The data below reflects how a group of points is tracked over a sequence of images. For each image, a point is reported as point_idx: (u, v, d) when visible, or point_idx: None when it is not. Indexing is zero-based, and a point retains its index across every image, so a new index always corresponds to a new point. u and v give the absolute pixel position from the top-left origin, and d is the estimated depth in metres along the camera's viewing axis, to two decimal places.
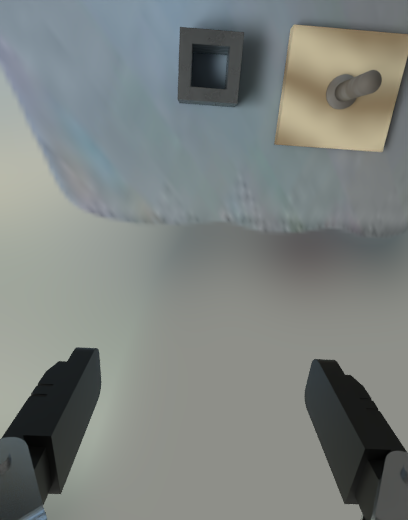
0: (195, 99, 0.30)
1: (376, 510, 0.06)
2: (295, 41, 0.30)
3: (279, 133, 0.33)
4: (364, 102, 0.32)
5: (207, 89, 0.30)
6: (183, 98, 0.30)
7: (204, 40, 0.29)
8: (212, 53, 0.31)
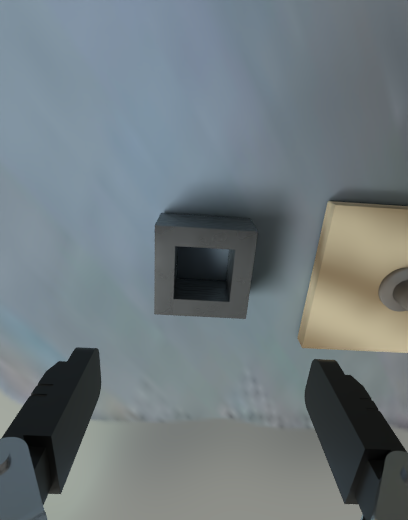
0: (181, 314, 0.20)
1: (376, 510, 0.06)
2: (336, 225, 0.19)
3: (306, 335, 0.23)
4: None
5: (199, 302, 0.19)
6: (163, 313, 0.20)
7: (194, 242, 0.18)
8: None
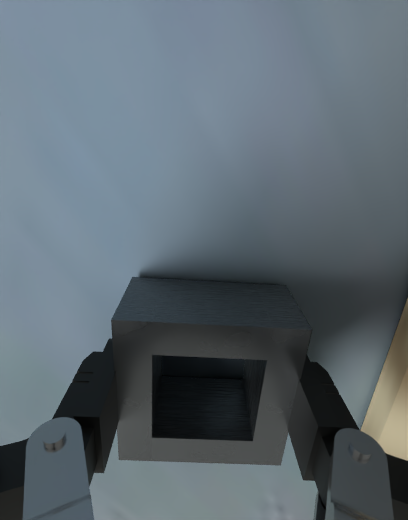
0: (167, 459, 0.11)
1: (331, 490, 0.07)
2: None
3: None
4: None
5: (199, 442, 0.11)
6: (134, 457, 0.11)
7: (189, 348, 0.09)
8: None
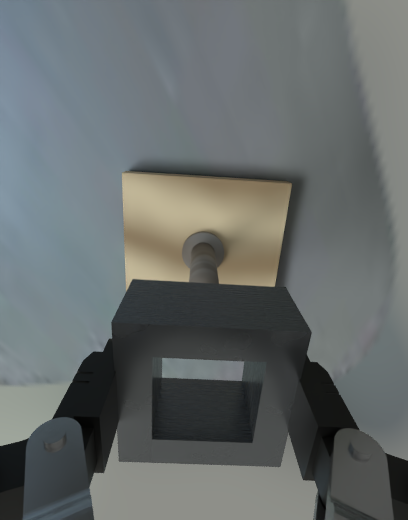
0: (167, 461, 0.11)
1: (331, 490, 0.07)
2: (128, 192, 0.22)
3: None
4: (236, 262, 0.24)
5: (199, 443, 0.11)
6: (134, 459, 0.11)
7: (189, 350, 0.09)
8: None
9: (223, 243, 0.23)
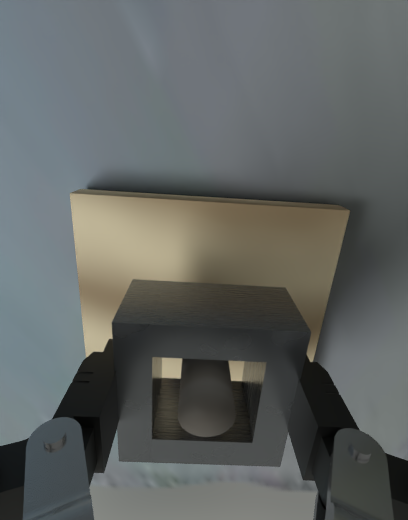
0: (167, 461, 0.11)
1: (331, 490, 0.07)
2: (82, 224, 0.13)
3: None
4: None
5: (199, 443, 0.11)
6: (134, 459, 0.11)
7: (189, 350, 0.09)
8: None
9: None
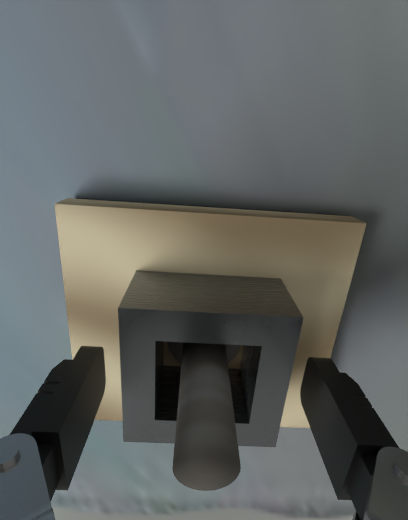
0: (169, 441, 0.12)
1: (369, 506, 0.06)
2: (68, 238, 0.12)
3: None
4: None
5: None
6: (138, 439, 0.12)
7: (189, 334, 0.10)
8: None
9: None
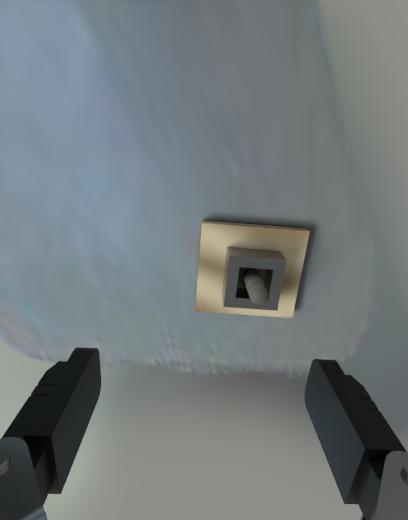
0: (239, 307, 0.33)
1: (376, 510, 0.06)
2: (204, 234, 0.34)
3: (196, 303, 0.37)
4: None
5: (250, 300, 0.33)
6: (228, 306, 0.33)
7: (250, 265, 0.32)
8: None
9: None
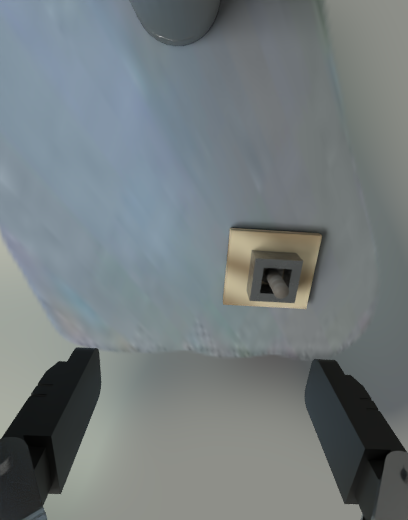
0: (263, 300, 0.40)
1: (376, 510, 0.06)
2: (233, 240, 0.40)
3: (224, 297, 0.43)
4: None
5: (272, 294, 0.39)
6: (254, 300, 0.40)
7: (273, 265, 0.38)
8: None
9: None
